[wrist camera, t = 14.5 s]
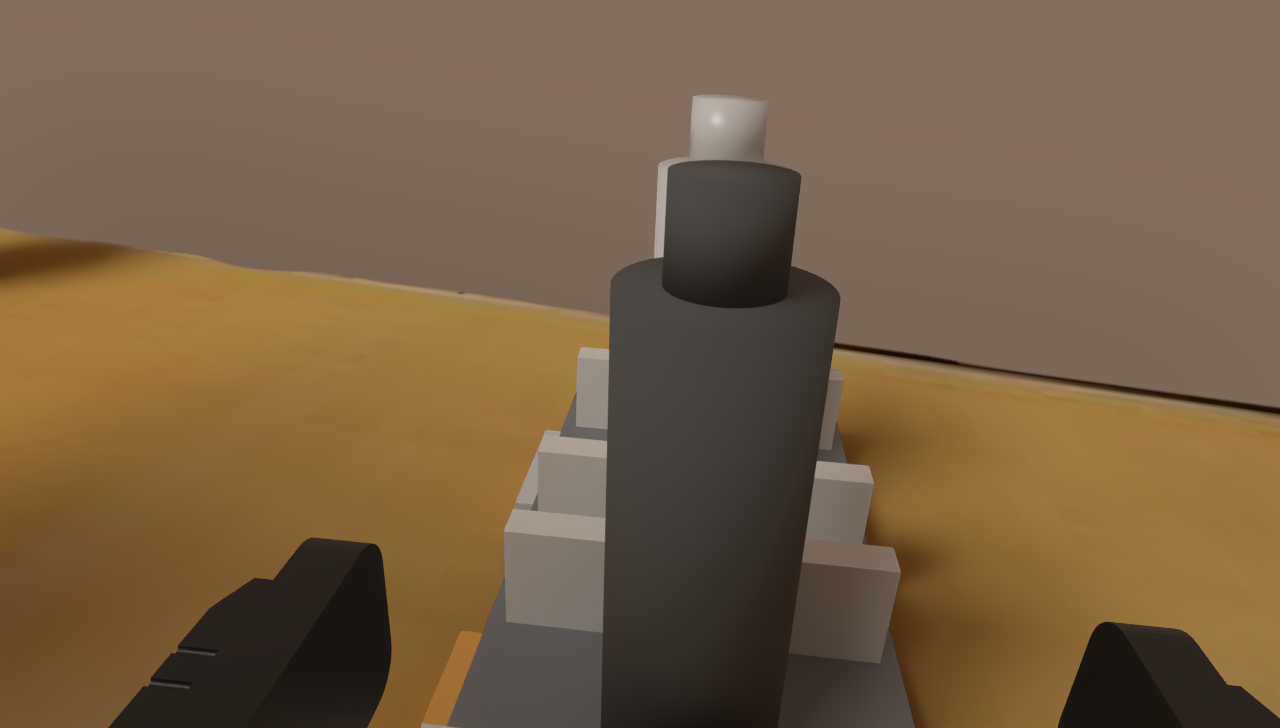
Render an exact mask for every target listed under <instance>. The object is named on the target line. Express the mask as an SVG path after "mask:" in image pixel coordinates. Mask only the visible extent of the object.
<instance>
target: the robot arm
mask: <svg viewBox="0 0 1280 728" xmlns="http://www.w3.org/2000/svg"><path fill="white" fill-rule="evenodd" d="M390 662H391V635H390V625H389V616H388V606H387V597H386V587H385V577H384V568H383V559H382V554H381V551H380V549H379V547H378V546H377V545H375V544H371V543H361V542H351V541H342V540H332V539H322V538H309V539H307V540H306V541H304V542H303V543H302V544H301V545H300V546H299V548H298V549H297V550H296V551H295V553H294V554H293V555H292V557H291V558H290V559H289V560H288V562H287V563H286V564H285V566H284V567H283V568H282V569H281V571H280V572H279V573H278V575H277V576H276V577H275V578H274V580H268V579H259V578H254V579H252V580H251V581H249V582H248V583H246V584H245V585H244V586H242V587H241V588H239V589H238V590H236V591H235V592H233V593H232V594H230V595H229V596H227V597H226V598H224V599H223V600H221V601H220V602H218V603H217V604H215V605H214V606H212V607H211V608H209V610H208V611H207V612H206V613H205V614H204V616H203V617H202V618H201V619H200V620H199V621H198V623H197V624H196V625H195V626H194V627H193V629H192V630H191V631H190V632H189V633H188V634H187V636H186V637H185V638H184V639H183V640H182V641H181V643H180V644H179V645H178V650H177V652H176V654H174V653H171V654H170V656H169V657H168V658H167V659H166V660H165V662H164V663H163V664H162V665H161V666H160V667H159V669H158V670H157V671H156V672H155V673H154V675H153V676H152V677H151V682H150V684H149V686H148V687H146V686H143V687H142V689H141V690H140V691H139V692H138V693H137V695H136V696H135V697H134V698H133V699H132V700H131V702H130V703H129V704H128V705H127V706H126V708H125V709H124V710H123V711H122V712H121V713H120V715H119V716H118V717H117V718H116V719H115V720H114V722H113V723H112V724H111V725H110V726H109V728H367V727H368V725H369V723H370V721H371V719H372V717H373V715H374V713H375V711H376V709H377V706H378V704H379V702H380V700H381V698H382V695H383V692H384V689H385V686H386V683H387V679H388V674H389V669H390ZM1058 728H1280V718H1278V717H1277V716H1276V715H1275V714H1274V713H1272V712H1271V711H1270V710H1269V709H1268V708H1266V707H1265V706H1264V705H1263V704H1261V703H1260V702H1259V701H1258V700H1257V699H1255V698H1254V697H1253V696H1252V695H1250V694H1249V693H1248V692H1247V691H1246V690H1244V689H1243V688H1242V687H1241V686H1232V685H1227V684H1226V682H1225V681H1224V680H1223V678H1222V677H1221V676H1220V674H1219V673H1218V672H1217V670H1216V669H1215V667H1214V666H1213V665H1212V663H1211V662H1210V661H1209V659H1208V658H1207V657H1206V655H1205V654H1204V652H1203V651H1202V650H1201V648H1200V647H1199V646H1198V644H1197V643H1196V642H1195V641H1194V639H1193V638H1192V637H1191V636H1190V635H1188V634H1187V633H1186V632H1184V631H1182V630H1178V629H1172V628H1162V627H1153V626H1143V625H1133V624H1124V623H1114V622H1103V623H1101V624H1099V625H1098V626H1097V627H1096V628H1095V630H1094V631H1093V633H1092V635H1091V637H1090V640H1089V642H1088V645H1087V648H1086V651H1085V653H1084V656H1083V659H1082V661H1081V664H1080V667H1079V669H1078V672H1077V675H1076V677H1075V680H1074V683H1073V685H1072V688H1071V691H1070V694H1069V696H1068V699H1067V702H1066V704H1065V707H1064V710H1063V712H1062V715H1061V718H1060V721H1059V724H1058Z"/></svg>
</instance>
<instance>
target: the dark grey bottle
mask: <svg viewBox="0 0 1280 728" xmlns="http://www.w3.org/2000/svg"><path fill="white" fill-rule="evenodd" d="M800 184H801V175H800V174H799V173H798V172H796V171H793V170H790V169H787V168H784V167H780V166H775V165H770V164H763V163H756V162H746V161H731V160H699V161H688V162H681V163H677V164H673V165H671V166H669V167H668V173H667V193H666V213H665V233H664V253H663V257H660V258H654V259H649V260H645V261H641V262H638V263H635V264H632V265H629V266H627V267H625V268H623V269H622V270H620V271H618V272H617V273H616V274H615V275H614V276H613V278H612V280H611V294H610V338H609V382H608V426H607V469H606V513H605V557H604V601H603V644H602V688H601V728H778V722H779V716H780V709H781V702H782V695H783V688H784V681H785V675H786V668H787V661H788V654H789V647H790V641H791V634H792V627H793V620H794V613H795V606H796V600H797V593H798V586H799V579H800V572H801V565H802V559H803V552H804V545H805V538H806V531H807V525H808V518H809V511H810V504H811V497H812V490H813V484H814V477H815V470H816V463H817V456H818V450H819V443H820V436H821V429H822V422H823V415H824V409H825V402H826V395H827V388H828V381H829V375H830V368H831V361H832V354H833V347H834V340H835V334H836V327H837V320H838V313H839V306H840V295H839V292H838V291H837V290H836V288H835V287H834V286H833V285H831V284H830V283H829V282H827V281H826V280H824V279H822V278H820V277H819V276H817V275H815V274H812V273H810V272H807V271H805V270H802V269H799V268H796V267H792V266H791V259H792V251H793V243H794V235H795V226H796V218H797V209H798V200H799V192H800Z"/></svg>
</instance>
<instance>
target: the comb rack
mask: <svg viewBox="0 0 1280 728" xmlns="http://www.w3.org/2000/svg"><path fill="white" fill-rule="evenodd" d="M608 382H609V349H598V348H587V347H581V350H580V352H579V354H578V357H577V392H576V394H575V397H574V399H573V402H572V405H571V407H570V410H569V412H568V415H567V417H566V420H565V423H564V425H563V428H562V430H561V431H552V430H546V431H545V433H544V436H543V438H542V440H541V443H540V445H539V448H538V450H537V452H536V455H535V457H534V459H533V462H532V464H531V466H530V469H529V471H528V473H527V476H526V478H525V481H524V483H523V485H522V488H521V490H520V492H519V495H518V497H517V499H516V502H515V509H513V510H512V513H511V515H510V517H509V520H508V522H507V525H506V527H505V529H504V564H505V577H504V580H503V582H502V585H501V588H500V590H499V593H498V595H497V598H496V600H495V603H494V606H493V608H492V611H491V613H490V616H489V618H488V621H487V624H486V626H485V629H484V631H483V633H478V632H469V631H460V634H459V636H458V638H457V641H456V643H455V645H454V648H453V650H452V652H451V655H450V657H449V660H448V662H447V664H446V667H445V669H444V671H443V674H442V676H441V678H440V681H439V683H438V685H437V688H436V690H435V692H434V695H433V697H432V700H431V702H430V704H429V707H428V709H427V711H426V714H425V716H424V718H423V721H422V723H421V725H420V728H601V688H602V644H603V601H604V557H605V513H606V469H607V426H608ZM842 385H843V378H842V375H841V371H840V369H830V375H829V381H828V388H827V395H826V402H825V409H824V415H823V422H822V429H821V436H820V443H819V450H818V456H817V463H816V470H815V477H814V484H813V490H812V497H811V504H810V511H809V518H808V525H807V531H806V538H805V545H804V552H803V559H802V565H801V572H800V579H799V586H798V593H797V600H796V606H795V613H794V620H793V627H792V634H791V641H790V647H789V654H788V661H787V668H786V675H785V681H784V688H783V695H782V702H781V709H780V716H779V722H778V728H915V725H914V721H913V718H912V714H911V710H910V706H909V702H908V698H907V694H906V690H905V686H904V682H903V679H902V675H901V671H900V667H899V663H898V659H897V655H896V651H895V647H894V643H893V640H892V636H891V632H890V628H889V623H890V618H891V614H892V610H893V605H894V601H895V597H896V592H897V588H898V584H899V580H900V575H901V570H900V567H899V564H898V560H897V557H896V554H895V550H894V547H885V546H875V545H868V542H867V538H866V534H865V528H866V523H867V518H868V513H869V508H870V503H871V498H872V493H873V488H874V481H873V477H872V474H871V471H870V467H869V466H866V465H855V464H847V460H846V456H845V452H844V448H843V444H842V441H841V437H840V433H839V429H838V425H837V421H836V420H837V414H838V408H839V403H840V397H841V391H842Z"/></svg>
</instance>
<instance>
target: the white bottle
mask: <svg viewBox="0 0 1280 728" xmlns="http://www.w3.org/2000/svg"><path fill="white" fill-rule="evenodd" d="M768 107H769V100H767V99H763V98H758V97H752V96H751V97H750V96H743V95H726V94H706V95H697V96H693V102H692V117H691V134H690V149H689V157H680V158H673V159H669V160H665V161H663V162H661V163H660V164H659V166H658V186H657V207H656V208H657V209H656V229H655V231H656V232H655V249H654V258H660V257H663V253H664V233H665V213H666V193H667V173H668V167H669V166H671V165H673V164H677V163H681V162H688V161H699V160H731V161H746V162H756V163H763V164H770V165H775V166H780V165H777V164H773V163H770V162H765V161H763V156H764V146H765V137H766V126H767V117H768ZM780 167H783V166H780ZM784 168H785V167H784Z"/></svg>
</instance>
